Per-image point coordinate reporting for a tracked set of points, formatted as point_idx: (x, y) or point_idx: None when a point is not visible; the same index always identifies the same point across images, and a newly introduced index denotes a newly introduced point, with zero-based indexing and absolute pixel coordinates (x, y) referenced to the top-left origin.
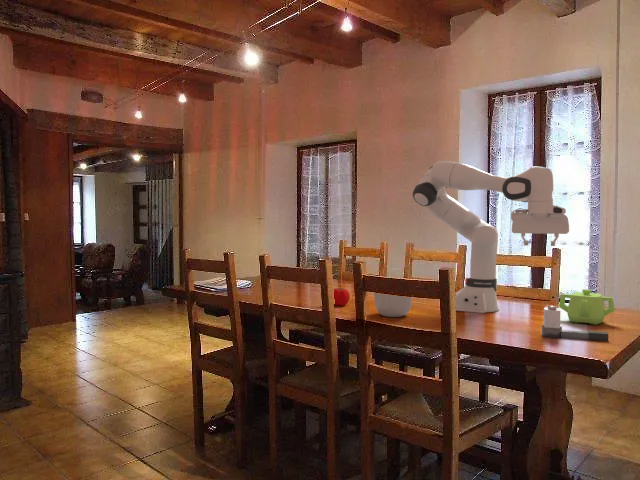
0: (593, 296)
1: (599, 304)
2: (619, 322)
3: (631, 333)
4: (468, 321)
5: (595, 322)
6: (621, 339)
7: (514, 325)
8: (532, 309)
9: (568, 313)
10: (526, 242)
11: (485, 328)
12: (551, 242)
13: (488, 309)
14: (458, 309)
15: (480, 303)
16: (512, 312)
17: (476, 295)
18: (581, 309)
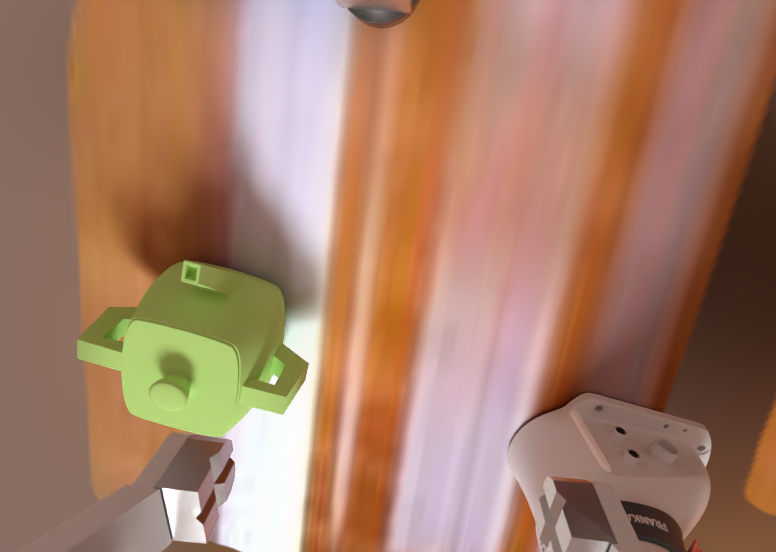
0: (148, 336)
1: (142, 298)
2: None
3: (81, 145)
4: (691, 226)
5: (195, 261)
6: (109, 5)
7: (505, 188)
8: (388, 478)
9: (280, 306)
10: (592, 514)
11: (655, 85)
12: (201, 475)
13: (560, 417)
14: (676, 419)
15: (600, 436)
16: (465, 424)
17: (631, 465)
18: (222, 270)
